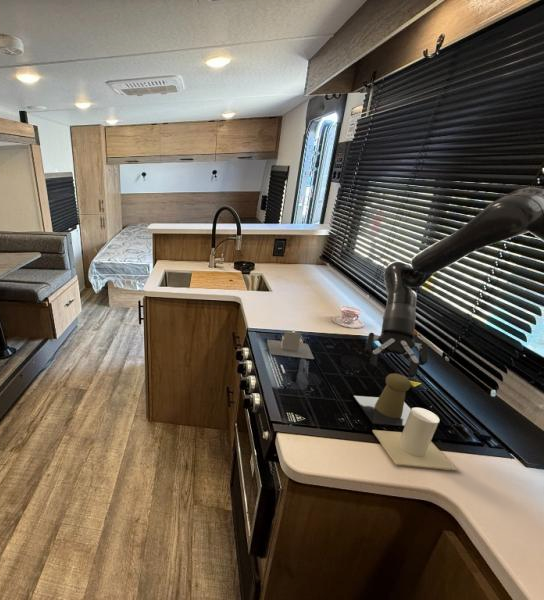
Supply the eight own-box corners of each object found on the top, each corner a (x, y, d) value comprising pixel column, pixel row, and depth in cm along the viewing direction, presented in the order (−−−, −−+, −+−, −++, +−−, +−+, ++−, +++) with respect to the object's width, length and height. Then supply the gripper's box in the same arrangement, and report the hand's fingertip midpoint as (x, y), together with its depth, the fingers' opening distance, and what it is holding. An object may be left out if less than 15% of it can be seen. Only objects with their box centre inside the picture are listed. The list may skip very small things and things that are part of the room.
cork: (382, 416, 83) (393, 383, 78) (370, 401, 88) (380, 369, 84) (407, 419, 82) (420, 385, 77) (394, 403, 87) (405, 371, 83)
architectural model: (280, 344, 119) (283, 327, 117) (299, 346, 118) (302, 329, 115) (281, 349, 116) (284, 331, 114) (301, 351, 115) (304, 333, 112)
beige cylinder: (416, 440, 75) (429, 408, 71) (430, 457, 70) (445, 424, 67) (393, 438, 76) (405, 406, 72) (406, 455, 71) (420, 422, 67)
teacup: (326, 317, 141) (328, 305, 139) (350, 315, 142) (353, 303, 140) (344, 329, 130) (348, 316, 128) (370, 327, 131) (374, 314, 129)
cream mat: (424, 435, 77) (424, 434, 77) (455, 470, 68) (456, 469, 68) (372, 431, 79) (372, 429, 78) (396, 464, 69) (396, 463, 69)
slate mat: (401, 400, 89) (401, 398, 89) (428, 428, 79) (428, 427, 79) (352, 396, 91) (353, 395, 91) (373, 424, 81) (373, 423, 81)
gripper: (373, 311, 94) (365, 361, 89) (434, 322, 87) (429, 376, 82) (367, 320, 100) (360, 368, 95) (424, 330, 93) (419, 382, 88)
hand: (392, 372), depth 88 cm, fingers open, 8 cm apart
